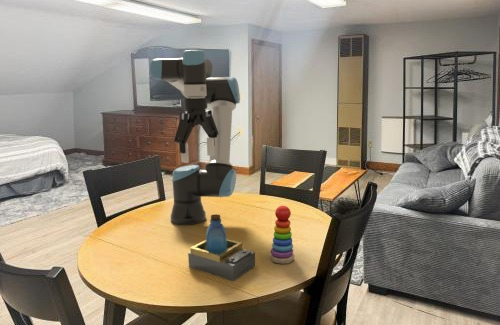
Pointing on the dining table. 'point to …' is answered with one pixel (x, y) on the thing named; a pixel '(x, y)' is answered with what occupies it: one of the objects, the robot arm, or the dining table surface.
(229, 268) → the gray gold-framed box
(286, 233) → the stacking toy
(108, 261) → the dining table surface
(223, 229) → the perfume bottle
